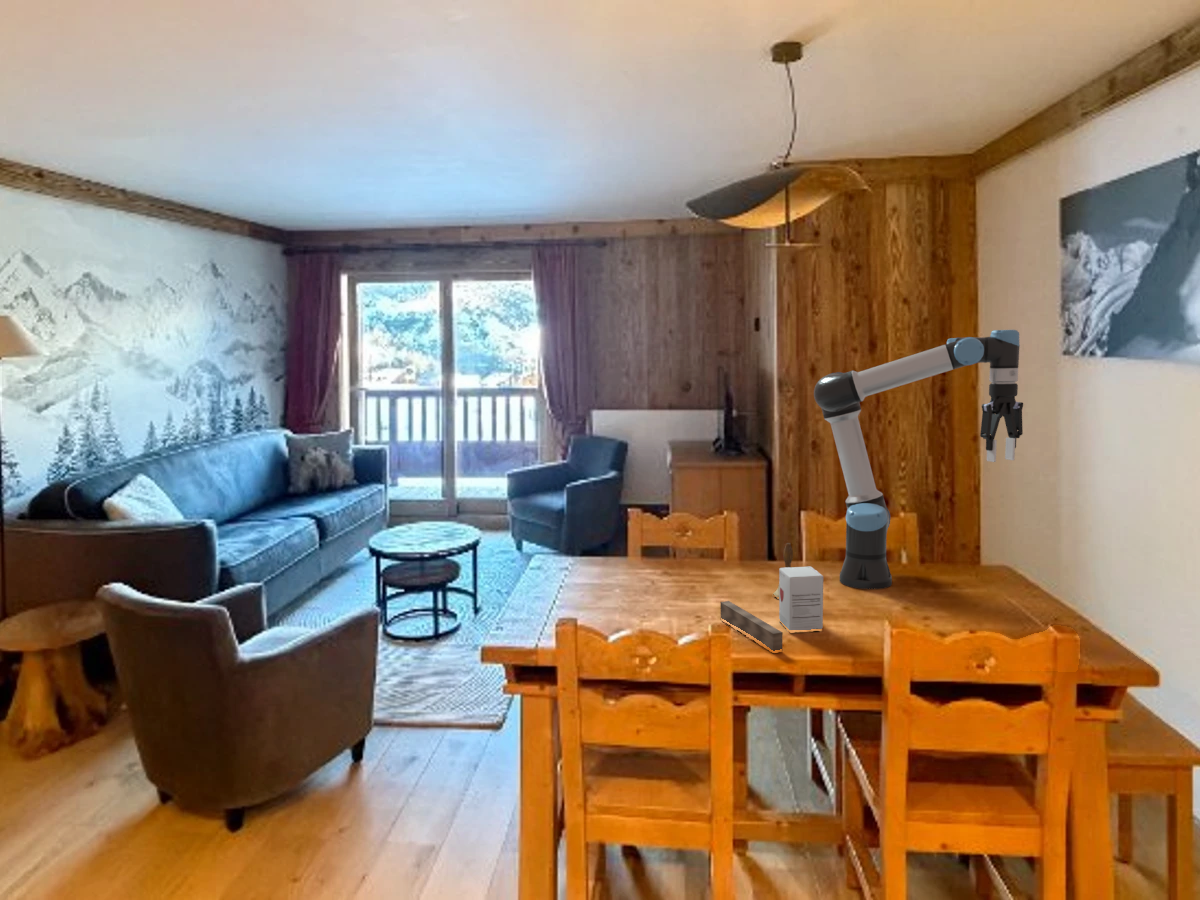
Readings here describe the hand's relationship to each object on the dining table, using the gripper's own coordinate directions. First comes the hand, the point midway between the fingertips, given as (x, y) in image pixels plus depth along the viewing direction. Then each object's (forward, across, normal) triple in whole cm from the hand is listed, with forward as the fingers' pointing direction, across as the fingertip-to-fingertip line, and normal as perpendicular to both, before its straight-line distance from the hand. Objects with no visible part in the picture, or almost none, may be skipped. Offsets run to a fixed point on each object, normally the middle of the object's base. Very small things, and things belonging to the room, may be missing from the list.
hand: (1000, 460), depth 237 cm
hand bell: (+37, -65, +13) cm, 76 cm away
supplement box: (+37, -76, -10) cm, 85 cm away
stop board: (+37, -91, -10) cm, 99 cm away
